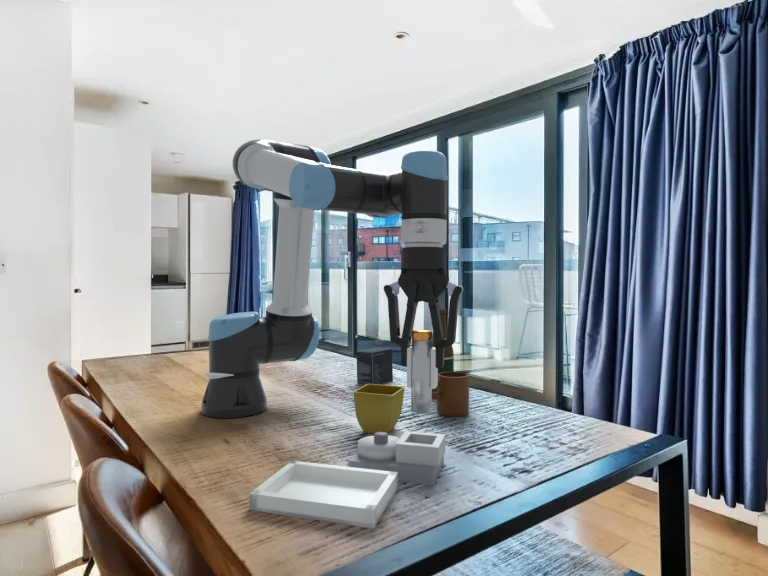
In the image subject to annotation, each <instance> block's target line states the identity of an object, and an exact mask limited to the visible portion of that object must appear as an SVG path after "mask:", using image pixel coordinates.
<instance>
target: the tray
mask: <svg viewBox="0 0 768 576" xmlns="http://www.w3.org/2000/svg"><path fill="white" fill-rule="evenodd" d="M398 490H399V481H398V472H392V471H382V470H373V469H364V468H355V467H349V466H345V465H338V464H337V465H335V464H325V463H318V462H307V461H298V460H291V461H289V462H288V463H287V464H286V465H284V466H283V467H281V468H280V469H279V470H277V471H276V472H275V473H274V474H273V475H272V476H270V477H269V478H267V479H266V480H265V481H264V482H262V483H261V484H260V485H259V486H257V487H256V488H255V489H253V490H252V491H250V493H249V511H253V512H261V513H266V514H267V513H269V514H273V515H274V514H275V515H281V516H286V517H293V518H300V519H306V520H307V519H308V520H313V521H320V522H325V523H326V522H327V523H333V524H341V525H348V526H355V527H360V528H365V529H366V528H368V529H374V528H375V527H376V525H377V524H378V522H379V521H380V519H381V517H382V516H383V515H384V513H385V510H386V509H387V507H388V506H389V504H390V503H391V501H392V500H393V498H394V496H395V494H396V492H397V491H398Z"/></svg>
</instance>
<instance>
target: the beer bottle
mask: <svg viewBox="0 0 768 576" xmlns="http://www.w3.org/2000/svg"><path fill="white" fill-rule="evenodd" d="M439 310H440V317H441V323H442V329H443V336H444V339H446V338H447V317H446V313H447V309H446V308H440V307H439ZM433 347H435V341H434V335H433V334H432V348H433ZM454 355H455V354H454V347H453V345H451V346H447V347H445V348H444V365H443V367H442V368H438V373H442V372H455V369H454V368H455V365H454V364H455V363H454V362H455V359H454V358H455V357H454ZM432 392H437V387H436V388H435V389H432Z"/></svg>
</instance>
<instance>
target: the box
mask: <svg viewBox="0 0 768 576" xmlns="http://www.w3.org/2000/svg"><path fill="white" fill-rule="evenodd" d="M355 354H356V382H357V383H358V384H357V383H356V384H357V385H361V384H363V385H362V386H364V385H366V384H379V385H385V384H387V383H390V382H393V381H394V378H393V377H394V376H393V375H394V373H393V349H392V347H391V348H390V347H379V346H378V347H377V346H376V347H371V348H367V349H361V350H356V353H355Z"/></svg>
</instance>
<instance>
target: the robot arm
mask: <svg viewBox="0 0 768 576" xmlns="http://www.w3.org/2000/svg"><path fill="white" fill-rule="evenodd" d="M331 163H332V162H331V160H330V159H329V156H328V154H327V153H326V152H324V150H322V149H320V148H315V147H312V146H309V145H301V144H295V143H289V142H283V141H282V142H281V141H276V140H272V139H264V138H263V139H261V138H259V139H253V140H250V141H247V142H245V143H243V144H241V145H240V146H239V147H238V148H237V149H236V151H235V153H234V155H233V158H232V170H233V172H234V174H235V176H236V178H237V179H238V180H239V181H240V182H241V183H242V184H243V185H245V186H247V187H249V188H253V189H255V190H256V189H257V190H261V191H265V192H266V191H267V192H273V199H272V200H273V201H274V202H275V203H276V205H277V206H278V219H277V234H276V235H277V236H276V247H275V248H276V249H275V262H274V263H275V266H274V277H273V278H274V279H273V291H272V292H273V294H272V302H271V303H270V304H269V305H268V306H267V307H266V308H265V316H260V314H259V312H257V311H245V312H243V311H242V312H235V313H229V314H223V315H219V316H217V317H215V318H213V319H212V320H211V321H210V322H209V325H208V326H209V328H208V336H207V340H208V362H209V363H208V368H209V369H208V373H209V372H213V373H225V374H233V376H228V377H222V378H216V379H210V378H208V382H207V385H206V389H205V392H204V395H203V398H202V401H201V414H202V415H204V416H206V417H210V418H216V419H217V418H220V419H231V418H232V419H233V418H234V417H235V418H243V417H248V416H253V415H257V414H259V413H262V411H263V412H264V411H266V410H267V409H268V408H267V407H268V400H267V396H266V393H265V389H264V387H263V383H262V382H261V378H260V365H262V364H263V365H264V364H273V363H275V364H276V363H281V362H282V363H284V362H285V363H286V362H297V361H301V360H306V359H309V358H310V357H311V356H312V355H313V354H314V353H315V351H316V350H317V347H318V345H319V343H320V342H319V341H320V336H321V335H320V333H321V331H320V327H319V325H320V323H319V320H318V319H317V318H316V316H314V315H313V310H312V309H311V307H310V306H309V305H308V296H309V295H308V294H309V284H310V283H309V281H310V272H311V260H312V259H311V258H312V257H311V256H312V245H313V233H314V218H315V212H316V211H327V212H329V211H330V212H340V213H341V212H342V213H343V212H344V213H349V214H350V213H351V214H361V215H366V216H367V217H370V218H376V219H377V218H383V219H385V218H389V217H393V216H398V215H400V216H401V219H400V220H401V221H400V222H401V226H400V227H401V228H400V229H401V230H400V231H401V232H400V235H401V236H400V237H401V238H400V239H401V240H400V241H401V242H400V243H401V244H402V245H404V247H402V249H401V250H400V274H399V276H398V279H397V281H395V282H393V283H390V284H385V285H383V291H384V293H385V297H386V299H387V309H388V312H387V313H388V325H389V326H388V327H389V340H390V342H391V343H392V344H397V345H398V346H399V347H400V349H401V350H400V357H401V358H400V363H401V366H402V367H406V388H411V384H412V331H413V330H414V325H415V320H416V313H417V308H418V305H419V302H424V303H427V304H428V308H429V309H428V310H429V314H430V321H431V327H432V335H434V341H435V347H433V348H432V349H431V379H430V389H435V388H436V387H437V385H438V368H442V367H443V365H444V348H445V347H447V346H451V345H452V346H453V345H454V343H456V339H457V338H456V336H457V328H458V327H457V326H458V315H459V314H458V313H459V304H460V298H461V296H462V294H463V292H464V286H462V285H457V284H455V283H453V282H451V281H450V278H449V277H448V273H447V250H446V248H445V247H444V245H446V244H447V237H448V236H447V235H448V234H447V229H448V227H447V226H448V225H447V223H448V221H447V219H448V218H447V217H448V216H447V214H448V213H447V211H448V210H447V209H448V205H447V204H448V181H449V177H448V164H447V163H448V161H447V158H446V156H445V154H444V153H442V152H440V151H436V150H431V149H430V150H429V149H428V150H427V149H419V150H418V149H417V150H412V151H408V152H406V153H404V155H403V156H402V160H401V165H400V166H401V167H400V168H401V169H400V170H397V171H394V172H387V173H385V172H379V171H372V170H371V171H370V170H363V169H357V168H351V167H350V168H349V167H343V166H339V165H332V164H331ZM400 288H401V290H402V291H403V293H404V295H406V297H407V302H406V310H405V316H404V321H403V322H404V323H403V327H402V333H401V324H400V308H399V299H398V298H399V297H398V295H399V294H400ZM446 289H447V290H448V292H447V294H448V297H450V299H449V305H448V315H447V326H446V330H447V338H446V339H444V336H443V329H442V323H441V317H440V310H439V308H440V303H439V298H440V297H441V295H442V294H443V293H444V291H445V290H446ZM401 334H402V335H401ZM265 409H266V410H265Z"/></svg>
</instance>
